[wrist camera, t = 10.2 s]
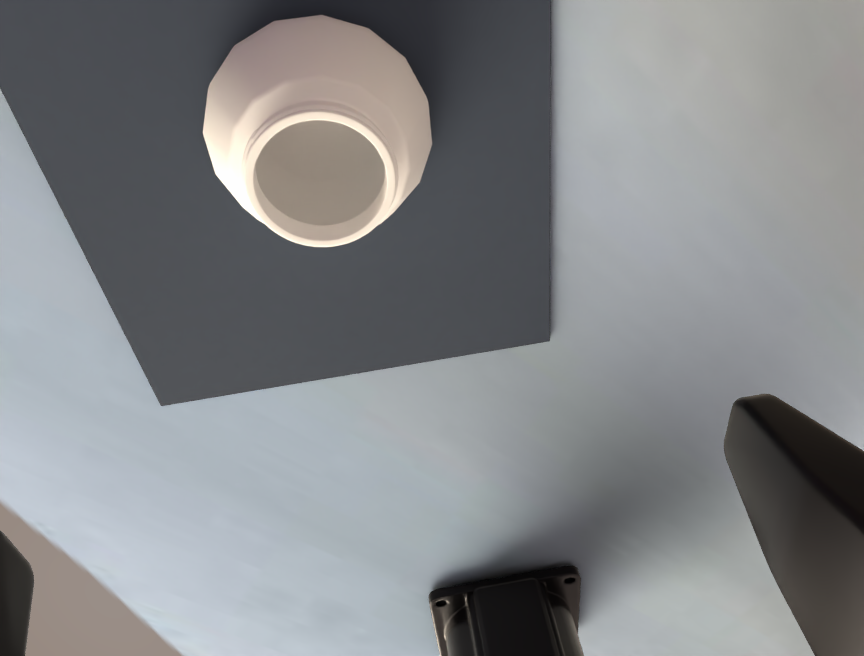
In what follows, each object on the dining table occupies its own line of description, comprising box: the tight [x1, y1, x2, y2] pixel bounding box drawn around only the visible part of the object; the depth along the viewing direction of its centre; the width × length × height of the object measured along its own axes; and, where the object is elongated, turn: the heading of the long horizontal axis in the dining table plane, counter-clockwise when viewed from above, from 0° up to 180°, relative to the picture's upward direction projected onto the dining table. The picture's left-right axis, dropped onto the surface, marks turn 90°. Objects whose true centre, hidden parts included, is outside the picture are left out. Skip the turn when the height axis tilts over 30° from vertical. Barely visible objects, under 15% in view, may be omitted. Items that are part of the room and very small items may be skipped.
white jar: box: [203, 15, 432, 247], centre depth 15 cm, size 5×3×5 cm
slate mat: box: [0, 0, 551, 406], centre depth 16 cm, size 16×12×1 cm
